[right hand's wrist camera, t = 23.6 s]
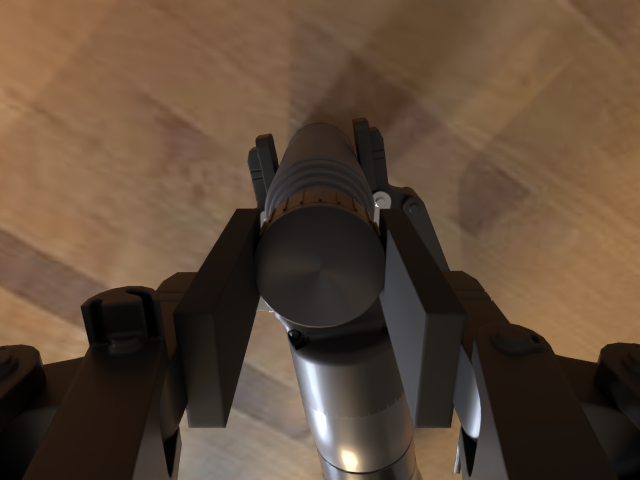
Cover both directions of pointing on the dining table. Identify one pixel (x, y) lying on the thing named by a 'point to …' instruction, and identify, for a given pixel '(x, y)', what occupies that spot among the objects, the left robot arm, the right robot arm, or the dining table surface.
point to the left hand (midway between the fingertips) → (311, 129)
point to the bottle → (319, 168)
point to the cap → (319, 259)
